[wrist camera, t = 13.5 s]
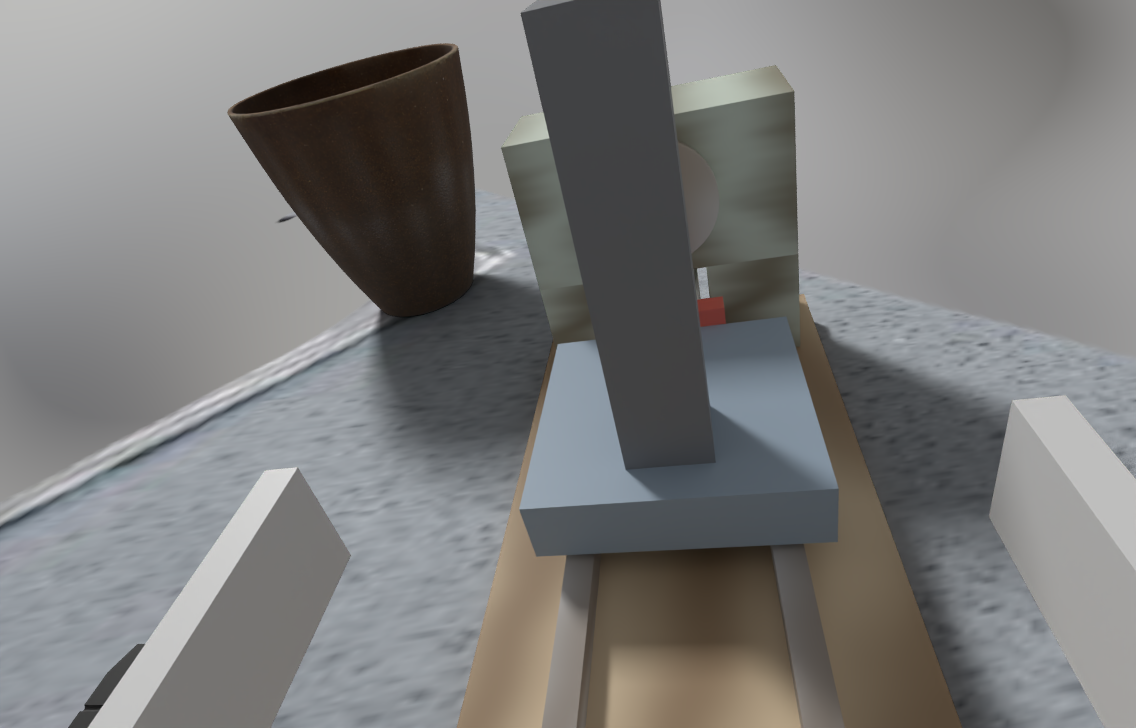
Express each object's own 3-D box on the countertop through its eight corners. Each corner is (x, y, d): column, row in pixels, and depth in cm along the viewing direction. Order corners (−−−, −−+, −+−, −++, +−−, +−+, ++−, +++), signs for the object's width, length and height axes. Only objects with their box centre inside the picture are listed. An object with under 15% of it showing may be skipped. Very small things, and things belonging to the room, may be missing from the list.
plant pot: (547, 295, 46) (482, 49, 37) (339, 374, 43) (215, 128, 34) (492, 233, 58) (433, 38, 49) (327, 291, 55) (234, 95, 46)
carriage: (536, 556, 23) (352, 59, 14) (569, 385, 31) (466, 2, 22) (837, 541, 21) (847, -58, 12) (788, 362, 29) (771, -73, 20)
